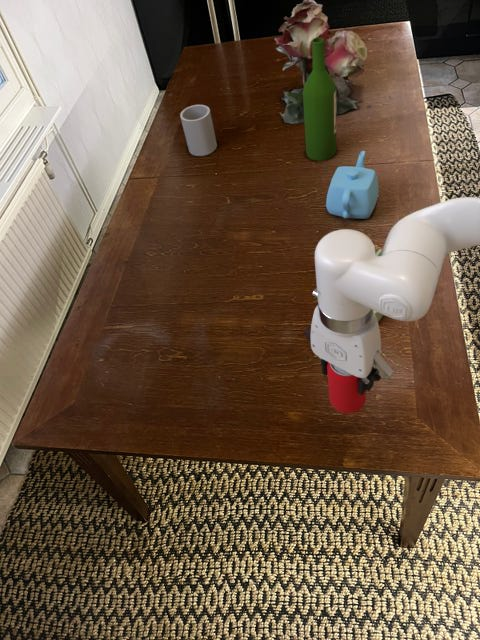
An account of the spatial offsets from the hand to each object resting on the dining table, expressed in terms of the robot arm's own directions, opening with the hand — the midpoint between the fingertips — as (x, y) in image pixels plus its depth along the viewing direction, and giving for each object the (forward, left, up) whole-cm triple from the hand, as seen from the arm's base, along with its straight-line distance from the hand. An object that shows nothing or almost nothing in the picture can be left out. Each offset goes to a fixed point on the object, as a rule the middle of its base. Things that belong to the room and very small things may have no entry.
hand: (346, 378), depth 87 cm
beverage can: (0, 0, -7) cm, 7 cm away
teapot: (+33, -57, -18) cm, 68 cm away
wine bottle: (+54, -73, -18) cm, 93 cm away
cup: (+89, -58, -18) cm, 108 cm away
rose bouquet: (+72, -98, -18) cm, 123 cm away
